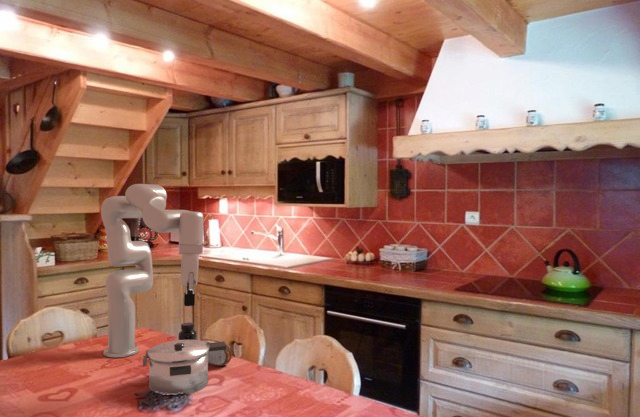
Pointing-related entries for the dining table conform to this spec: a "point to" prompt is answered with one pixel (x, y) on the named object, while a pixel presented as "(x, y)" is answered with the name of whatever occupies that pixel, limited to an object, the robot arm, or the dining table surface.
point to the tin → (218, 355)
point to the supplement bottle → (187, 332)
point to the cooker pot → (178, 375)
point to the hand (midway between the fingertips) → (189, 305)
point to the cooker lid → (182, 350)
